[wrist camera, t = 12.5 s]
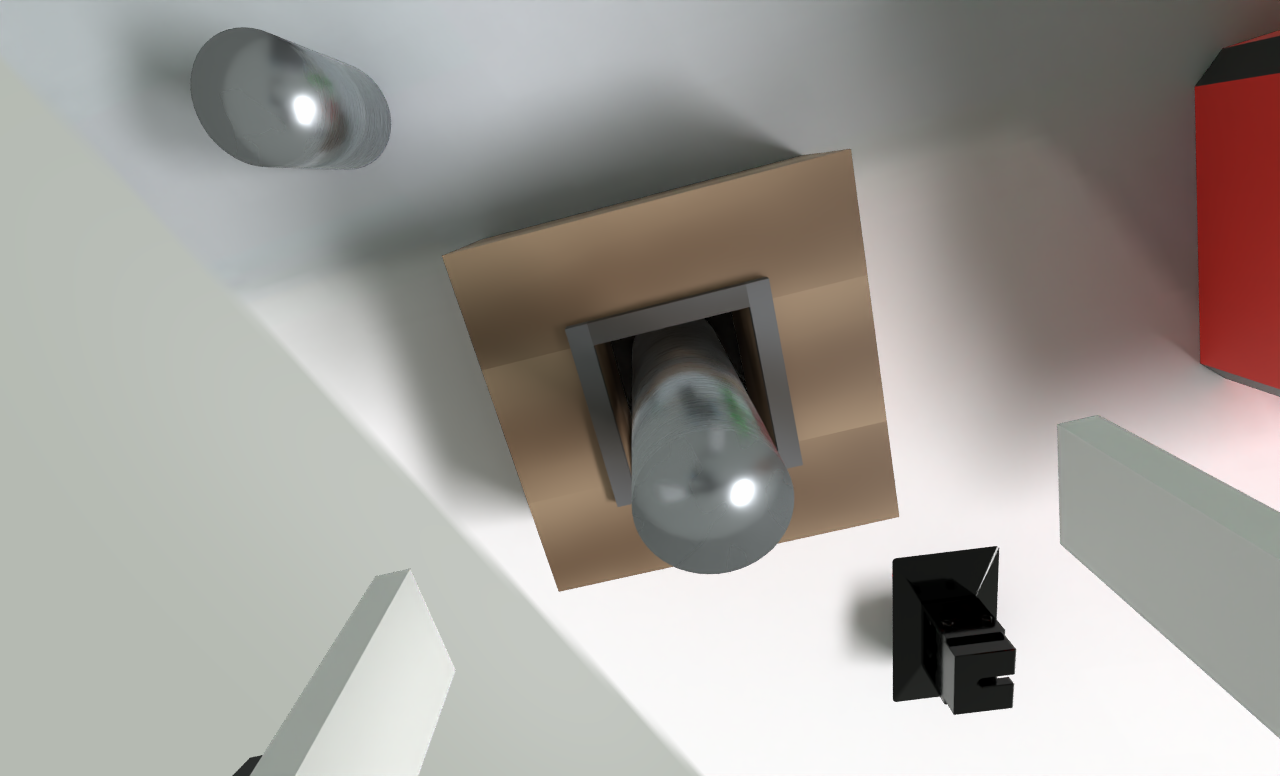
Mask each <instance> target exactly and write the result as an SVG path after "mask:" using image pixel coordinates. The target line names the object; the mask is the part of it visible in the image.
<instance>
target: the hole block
mask: <svg viewBox="0 0 1280 776" xmlns="http://www.w3.org/2000/svg"><path fill="white" fill-rule="evenodd" d="M442 258H443V261H444V264H445V267H446V269H447V272H448V275H449V278H450V281H451V284H452V287H453V289H454V292H455V295H456V298H457V301H458V304H459V307H460V310H461V312H462V315H463V318H464V321H465V324H466V327H467V330H468V333H469V335H470V338H471V341H472V344H473V347H474V350H475V353H476V355H477V358H478V361H479V364H480V367H481V370H482V373H483V376H484V378H485V381H486V384H487V387H488V390H489V393H490V396H491V399H492V401H493V404H494V407H495V410H496V413H497V416H498V419H499V421H500V424H501V427H502V430H503V433H504V436H505V439H506V442H507V444H508V447H509V450H510V453H511V456H512V459H513V462H514V465H515V467H516V470H517V473H518V476H519V479H520V482H521V485H522V487H523V490H524V493H525V496H526V499H527V502H528V505H529V508H530V510H531V513H532V516H533V519H534V522H535V525H536V528H537V531H538V533H539V536H540V539H541V542H542V545H543V548H544V551H545V553H546V556H547V559H548V562H549V565H550V568H551V571H552V574H553V576H554V579H555V582H556V585H557V588H558V591H559V592H560V591H564V590H569V589H573V588H578V587H582V586H587V585H592V584H596V583H601V582H605V581H610V580H614V579H619V578H623V577H628V576H632V575H637V574H642V573H646V572H651V571H655V570H660V569H664V568H669V567H673V566H671V565H669V564H668V563H666V562H664V561H663V560H661V559H660V558H659V557H657V556H656V555H655V554H654V553H653V552H652V551H651V550H650V549H649V548H648V547H647V546H646V545H645V543H644V542H643V541H642V539H641V537H640V536H639V534H638V532H637V529H636V527H635V524H634V520H633V515H632V417H631V413H630V410H629V406H628V402H627V399H626V395H625V392H624V388H623V384H622V381H621V377H620V373H619V370H618V366H617V362H616V359H615V355H614V351H613V348H612V344H611V341H614V340H618V339H622V338H626V337H630V336H634V335H638V334H642V333H646V332H650V331H654V330H658V329H662V328H666V327H670V326H674V325H678V324H683V323H687V322H691V321H695V320H699V319H703V318H707V317H711V316H715V315H719V314H723V313H727V312H731V313H732V318H733V323H734V328H735V333H736V338H737V342H738V347H739V352H740V357H741V362H742V367H743V372H744V376H745V381H746V386H747V391H748V396H749V398H750V400H751V401H752V403H753V405H754V407H755V409H756V411H757V413H758V415H759V417H760V419H761V420H762V422H763V424H764V426H765V428H766V430H767V432H768V434H769V436H770V438H771V440H772V441H773V443H774V445H775V447H776V449H777V451H778V453H779V455H780V457H781V459H782V460H783V462H784V464H785V466H786V468H787V470H788V472H789V475H790V477H791V480H792V484H793V489H794V509H793V514H792V518H791V521H790V524H789V526H788V528H787V530H786V532H785V534H784V535H783V536H782V538H781V539H780V541H779V542H778V543H782V542H787V541H792V540H796V539H801V538H805V537H810V536H814V535H819V534H823V533H828V532H832V531H837V530H842V529H846V528H851V527H855V526H860V525H864V524H869V523H873V522H878V521H882V520H887V519H892V518H896V517H899V511H898V503H897V496H896V488H895V481H894V473H893V465H892V458H891V450H890V443H889V435H888V428H887V420H886V412H885V405H884V397H883V390H882V382H881V374H880V367H879V359H878V352H877V344H876V336H875V329H874V321H873V314H872V306H871V298H870V291H869V283H868V276H867V268H866V260H865V253H864V245H863V238H862V230H861V222H860V215H859V207H858V200H857V192H856V185H855V177H854V169H853V162H852V154H851V149H846V150H839V151H831V152H824V153H816V154H809V155H802V156H798V157H794V158H791V159H787V160H783V161H779V162H775V163H772V164H768V165H764V166H760V167H756V168H752V169H749V170H745V171H741V172H737V173H733V174H730V175H726V176H722V177H718V178H714V179H711V180H707V181H703V182H699V183H695V184H692V185H688V186H684V187H680V188H676V189H672V190H669V191H665V192H661V193H657V194H653V195H650V196H646V197H642V198H638V199H634V200H631V201H627V202H623V203H619V204H615V205H611V206H608V207H604V208H600V209H596V210H592V211H589V212H585V213H581V214H577V215H573V216H570V217H566V218H562V219H558V220H554V221H551V222H547V223H543V224H539V225H535V226H531V227H528V228H524V229H520V230H516V231H512V232H509V233H505V234H501V235H497V236H493V237H490V238H486V239H482V240H480V241H477V242H475V243H472V244H470V245H467V246H465V247H462V248H460V249H458V250H455V251H453V252H450V253H448V254H445V255H443V256H442ZM778 543H777V544H778Z"/></svg>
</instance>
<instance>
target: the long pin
mask: <svg viewBox="0 0 1280 776" xmlns="http://www.w3.org/2000/svg"><path fill="white" fill-rule="evenodd" d="M793 509H794V489H793V484H792V480H791V477H790V475H789V472H788V470H787V468H786V466H785V464H784V462H783V460H782V459H781V457H780V455H779V453H778V451H777V449H776V447H775V445H774V443H773V441H772V440H771V438H770V436H769V434H768V432H767V430H766V428H765V426H764V424H763V422H762V420H761V419H760V417H759V415H758V413H757V411H756V409H755V407H754V405H753V403H752V401H751V400H750V398H749V396H748V394H747V392H746V390H745V388H744V386H743V384H742V382H741V381H740V379H739V377H738V375H737V373H736V371H735V369H734V367H733V365H732V363H731V362H730V360H729V358H728V356H727V354H726V352H725V350H724V348H723V346H722V344H721V343H720V341H719V339H718V337H717V335H716V333H715V331H714V330H713V328H712V326H711V325H710V324H709V323H708V322H707V321H706V320H705V319H704V318H703V319H699V320H695V321H691V322H687V323H683V324H678V325H674V326H670V327H666V328H662V329H658V330H654V331H650V332H646V333H642V334H638V335H636V336H635V338H634V342H633V347H632V515H633V520H634V524H635V527H636V529H637V532H638V534H639V536H640V537H641V539H642V541H643V542H644V543H645V545H646V546H647V547H648V548H649V549H650V550H651V551H652V552H653V553H654V554H655V555H656V556H657V557H659V558H660V559H661V560H663V561H664V562H666V563H668V564H669V565H671V566H674V567H676V568H678V569H681V570H685V571H688V572H693V573H699V574H720V573H726V572H731V571H735V570H738V569H741V568H743V567H746V566H748V565H750V564H752V563H754V562H756V561H758V560H759V559H760V558H762V557H763V556H765V555H766V554H767V553H768V552H769V551H771V550H772V549H773V548H774V547H775V545H776V544H777V543H778V542H779V541H780V539H781V538H782V536H783V535H784V534H785V532H786V530H787V528H788V526H789V524H790V521H791V518H792V514H793Z"/></svg>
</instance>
